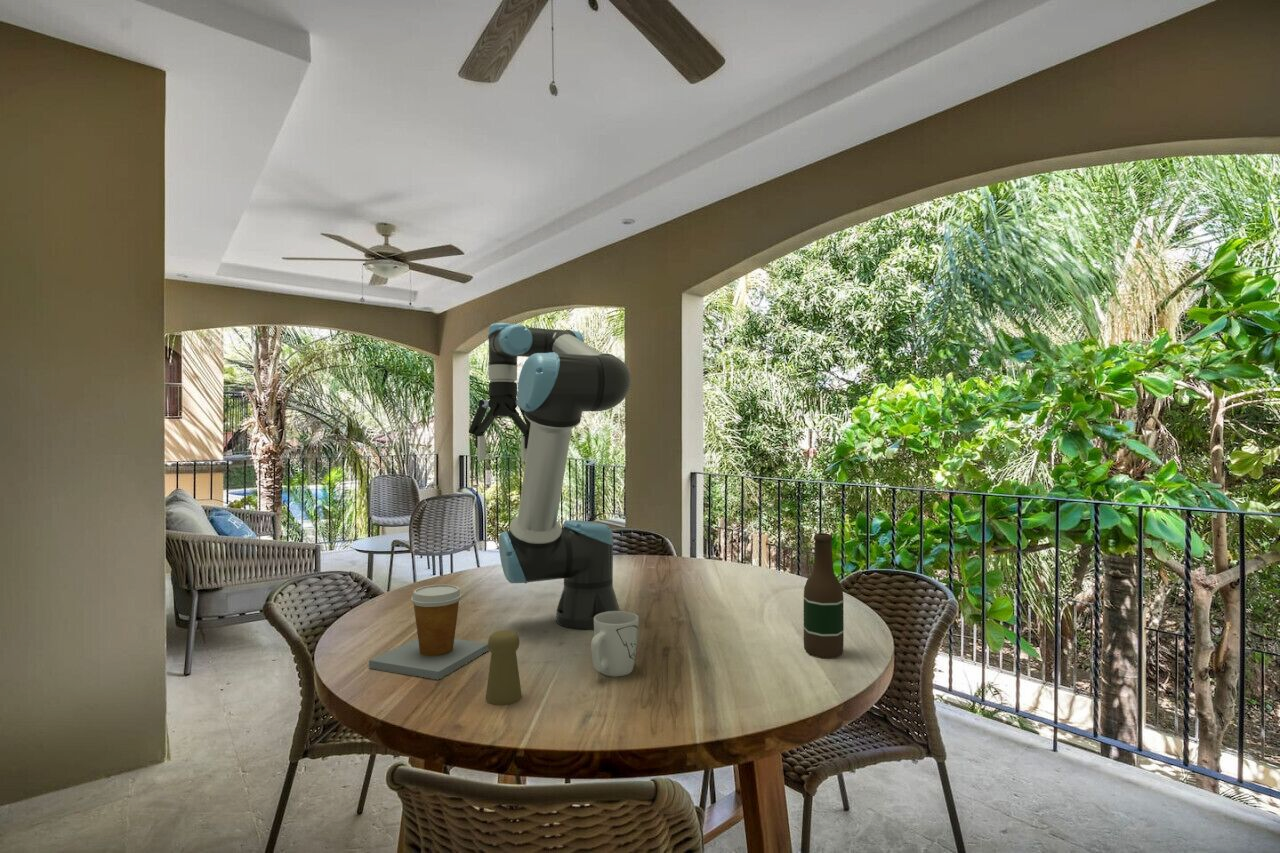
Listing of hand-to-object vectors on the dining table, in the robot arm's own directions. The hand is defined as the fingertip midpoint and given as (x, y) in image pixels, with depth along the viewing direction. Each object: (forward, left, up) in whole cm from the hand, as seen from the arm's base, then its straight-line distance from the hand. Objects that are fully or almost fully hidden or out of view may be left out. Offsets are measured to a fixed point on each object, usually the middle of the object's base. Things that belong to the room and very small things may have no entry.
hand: (503, 460), depth 169 cm
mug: (-48, +38, -37) cm, 71 cm away
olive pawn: (-35, +54, -37) cm, 74 cm away
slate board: (-12, +44, -37) cm, 59 cm away
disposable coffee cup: (-13, +43, -35) cm, 57 cm away
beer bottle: (-84, +13, -37) cm, 93 cm away
